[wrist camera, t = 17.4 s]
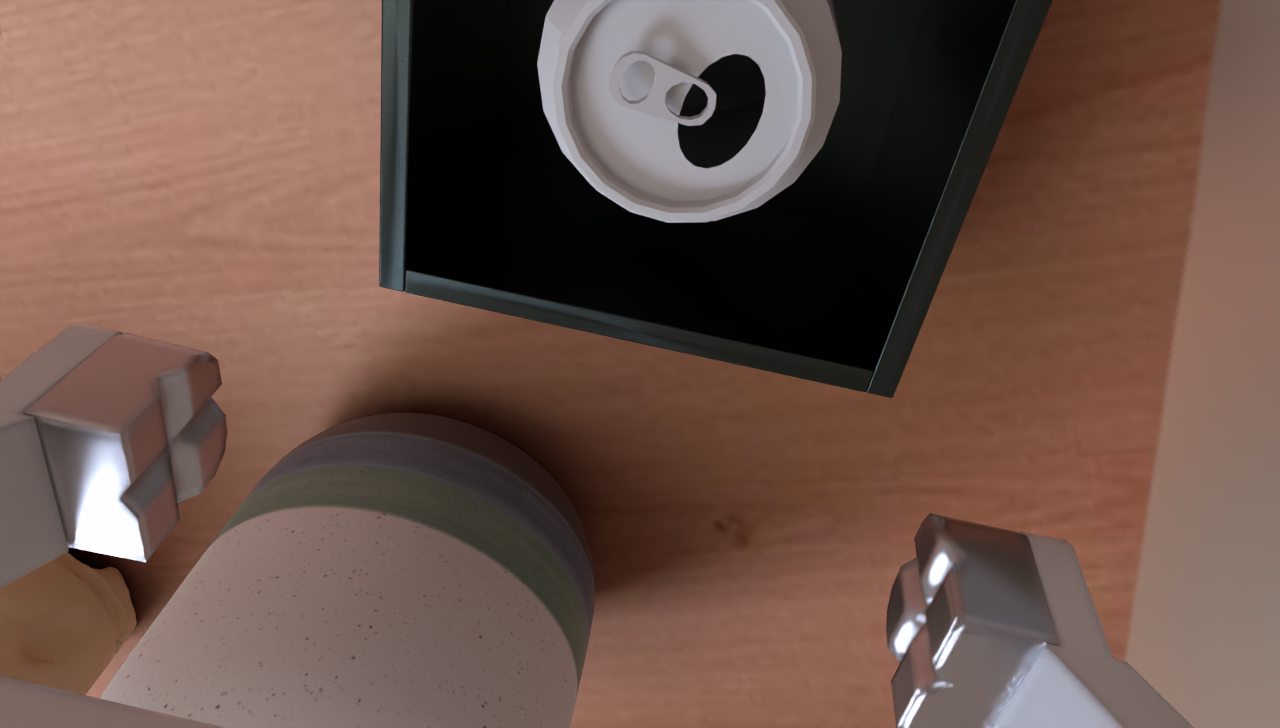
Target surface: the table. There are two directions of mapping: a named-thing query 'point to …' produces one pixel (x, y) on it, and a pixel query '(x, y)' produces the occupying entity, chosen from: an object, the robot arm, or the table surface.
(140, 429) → the robot arm
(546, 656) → the vase
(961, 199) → the bin
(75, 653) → the container
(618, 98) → the can
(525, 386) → the table surface
